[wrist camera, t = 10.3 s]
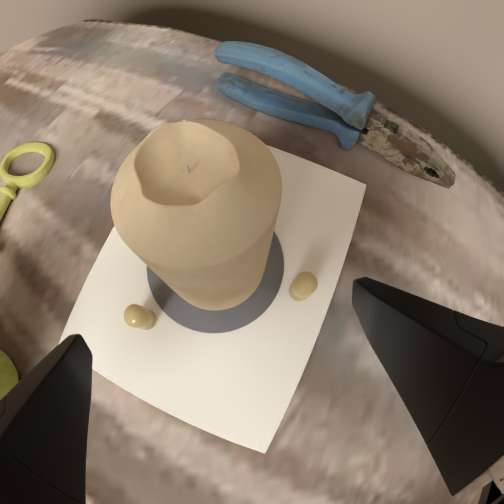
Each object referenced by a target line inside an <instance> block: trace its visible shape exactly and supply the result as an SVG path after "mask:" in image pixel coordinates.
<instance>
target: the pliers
mask: <svg viewBox="0 0 504 504" xmlns="http://www.w3.org/2000/svg"><path fill="white" fill-rule="evenodd" d="M214 55H215V57H216V59H217V60H218V61H219V62H221V63H226V64H232V65H237V66H241V67H245V68H248V69H251V70H254V71H257V72H260V73H263V74H265V75H268V76H270V77H273V78H275V79H276V80H279V81H281V82H283V83H285V84H286V85H288V86H290V87H292V88H294V89H296V90H298V91H299V92H301V93H303V94H305V95H307V96H308V97H310V98H312V99H314V100H315V101H317V102H318V103H320V104H322V105H320V104H316V103H313V102H310V101H306V100H303V99H300V98H297V97H294V96H290V95H287V94H283V93H280V92H277V91H274V90H271V89H268V88H266V87H263V86H260V85H258V84H256V83H253V82H251V81H248V80H246V79H244V78H242V77H239V76H236V75H234V74H231V73H228V72H227V73H223V74H222V75H221V76H220V77H219V78H218V81H217V87H218V89H219V90H220V91H221V92H223V93H225V94H226V95H228V96H230V97H231V98H233V99H235V100H237V101H239V102H241V103H242V104H245V105H247V106H249V107H251V108H253V109H256V110H258V111H261V112H263V113H266V114H269V115H272V116H275V117H278V118H281V119H285V120H288V121H293V122H297V123H301V124H304V125H307V126H311V127H315V128H319V129H323V130H327V131H330V132H332V133H334V134H335V135H336V136H337V137H338V139H339V141H340V144H341V146H342V148H343V149H346V150H351V148H352V147H353V146H354V145H355V143H359V144H360V145H363V146H364V147H366V148H367V149H369V150H371V151H373V150H375V151H376V152H377V153H379V154H381V155H384V159H386V160H387V161H389V162H391V163H393V164H394V165H396V166H398V167H399V168H401V169H402V170H404V171H406V172H408V173H410V174H412V175H415V176H418V177H421V178H423V179H426V180H428V181H431V182H433V183H436V184H438V185H440V186H443V187H445V188H450V187H451V186H452V185H453V184H454V181H455V173H454V172H453V171H452V169H451V168H450V167H449V165H448V164H447V163H446V162H445V161H444V160H443V159H442V158H441V157H440V155H439V154H438V153H437V152H436V151H435V150H434V149H433V147H432V146H431V145H430V144H429V143H428V142H427V141H426V140H424V139H423V138H422V137H420V136H418V135H417V134H416V133H414V132H412V131H411V130H409V129H407V128H406V127H404V126H403V125H400V126H399V125H398V124H397V123H395V122H391V121H389V120H387V119H388V117H387V116H385V115H384V114H382V113H380V112H378V111H376V110H374V103H375V96H374V95H373V94H372V93H371V92H369V91H367V92H364V93H362V94H352V93H349V92H347V91H346V90H344V89H343V88H341V87H340V86H339V85H337V84H336V83H334V82H333V81H331V80H330V79H329V78H327V77H326V76H324V75H323V74H321V73H319V72H318V71H316V70H314V69H313V68H311V67H310V66H308V65H306V64H305V63H303V62H301V61H299V60H297V59H296V58H294V57H291V56H290V55H287V54H285V53H282V52H280V51H278V50H275V49H272V48H269V47H266V46H262V45H258V44H253V43H247V42H235V41H226V42H224V43H222V44H220V45H219V46H218V47H217V48H216V49H215V51H214ZM323 105H324V106H323Z"/></svg>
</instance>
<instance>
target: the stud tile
mask: <svg viewBox="0 0 504 504" xmlns="http://www.w3.org/2000/svg"><path fill="white" fill-rule="evenodd" d="M183 121H186V120H183ZM266 146H267V147H268V148H269V150H270V151H271V153H272V154H273V156H274V157H275V159H276V161H277V164H278V166H279V169H280V173H281V178H282V197H281V203H280V207H279V212H278V216H277V220H276V225H275V229H274V233H273V237H272V241H271V246H270V250H269V254H268V258H267V262H266V266H265V270H264V273H263V276H262V279H261V282H260V284H259V286H258V287H257V289H256V290H255V292H254V293H253V294H252V295H251V296H250V297H249V298H248V299H246V300H245V301H244V302H242V303H241V304H239V305H237V306H235V307H232V308H229V309H225V310H215V311H213V310H205V309H201V308H198V307H195V306H193V305H191V304H189V303H188V302H187V301H185V300H184V299H183V298H181V297H180V296H179V295H178V294H177V293H176V292H175V291H174V290H172V289H171V288H170V287H169V286H168V285H167V284H166V283H165V282H164V281H163V280H162V279H161V278H160V277H159V276H157V275H156V274H155V273H154V272H153V271H152V270H151V269H150V268H149V267H148V266H147V265H146V264H145V263H144V262H143V261H142V260H141V259H140V258H139V257H138V256H137V255H136V254H135V253H134V252H133V251H132V250H131V249H130V248H129V247H128V246H127V245H126V244H125V243H124V241H123V240H122V238H121V237H120V235H119V234H118V232H117V229H116V227H115V226H114V228H113V229H112V231H111V233H110V235H109V237H108V238H107V240H106V242H105V244H104V246H103V248H102V250H101V252H100V253H99V255H98V257H97V259H96V261H95V263H94V265H93V267H92V269H91V271H90V273H89V275H88V277H87V279H86V281H85V284H84V286H83V288H82V290H81V292H80V294H79V296H78V299H77V301H76V303H75V305H74V308H73V310H72V312H71V314H70V317H69V319H68V322H67V324H66V326H65V329H64V331H63V334H62V336H61V339H60V341H59V344H60V343H61V342H62V341H63V340H64V339H65V338H67V337H68V336H69V335H72V334H80V335H82V337H83V338H84V340H85V342H86V343H87V345H88V347H89V349H90V350H91V352H92V356H93V362H92V369H93V370H95V371H96V372H98V373H99V374H101V375H102V376H104V377H105V378H107V379H108V380H110V381H112V382H113V383H115V384H117V385H118V386H120V387H121V388H123V389H125V390H126V391H128V392H130V393H132V394H133V395H135V396H137V397H139V398H140V399H142V400H144V401H146V402H148V403H149V404H151V405H153V406H155V407H157V408H159V409H161V410H163V411H165V412H167V413H169V414H171V415H173V416H175V417H177V418H179V419H181V420H183V421H185V422H187V423H189V424H191V425H194V426H196V427H198V428H200V429H203V430H205V431H207V432H209V433H212V434H214V435H217V436H219V437H221V438H224V439H226V440H229V441H231V442H234V443H237V444H239V445H242V446H245V447H248V448H250V449H253V450H256V451H259V452H262V453H266V451H267V449H268V447H269V445H270V443H271V441H272V439H273V437H274V435H275V433H276V431H277V429H278V427H279V424H280V422H281V420H282V418H283V416H284V414H285V412H286V410H287V407H288V405H289V403H290V401H291V399H292V396H293V394H294V392H295V390H296V387H297V385H298V383H299V380H300V378H301V376H302V373H303V371H304V369H305V366H306V364H307V361H308V359H309V357H310V354H311V352H312V349H313V347H314V344H315V342H316V339H317V336H318V334H319V331H320V329H321V326H322V323H323V321H324V318H325V315H326V313H327V310H328V307H329V304H330V302H331V299H332V296H333V293H334V290H335V287H336V285H337V282H338V279H339V276H340V273H341V270H342V267H343V264H344V261H345V257H346V254H347V251H348V248H349V245H350V242H351V238H352V235H353V232H354V228H355V225H356V221H357V218H358V214H359V211H360V207H361V204H362V200H363V196H364V193H365V189H366V185H365V184H363V183H361V182H359V181H356V180H354V179H352V178H350V177H347V176H345V175H343V174H340V173H338V172H335V171H333V170H331V169H328V168H326V167H323V166H321V165H318V164H316V163H313V162H311V161H308V160H306V159H303V158H301V157H298V156H295V155H293V154H290V153H287V152H284V151H282V150H279V149H276V148H273V147H271V146H268V145H266ZM59 344H58V345H59Z"/></svg>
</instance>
